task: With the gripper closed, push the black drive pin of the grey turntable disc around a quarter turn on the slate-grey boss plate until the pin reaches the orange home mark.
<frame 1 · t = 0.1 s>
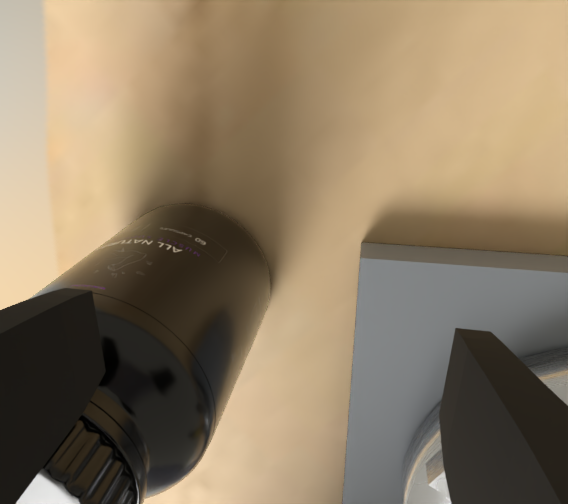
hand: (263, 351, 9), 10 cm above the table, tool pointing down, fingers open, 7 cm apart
supplement bottle: (197, 271, 21), on the table
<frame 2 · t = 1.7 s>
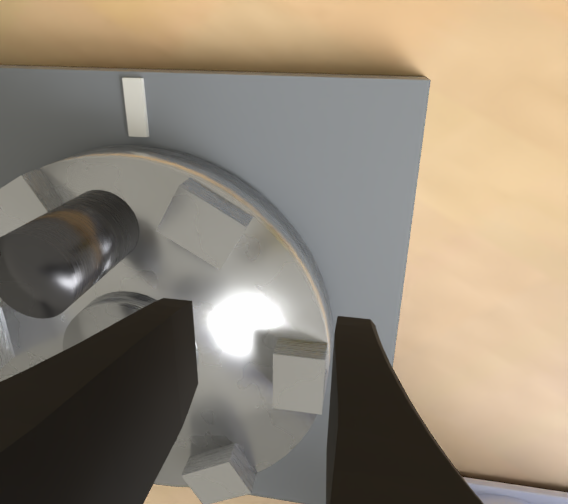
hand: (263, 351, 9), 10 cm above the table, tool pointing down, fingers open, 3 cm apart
boss plate: (172, 300, 22), on the table
grey turntable disc: (120, 369, 17), point 5 cm above the table, hinge at 0.0°
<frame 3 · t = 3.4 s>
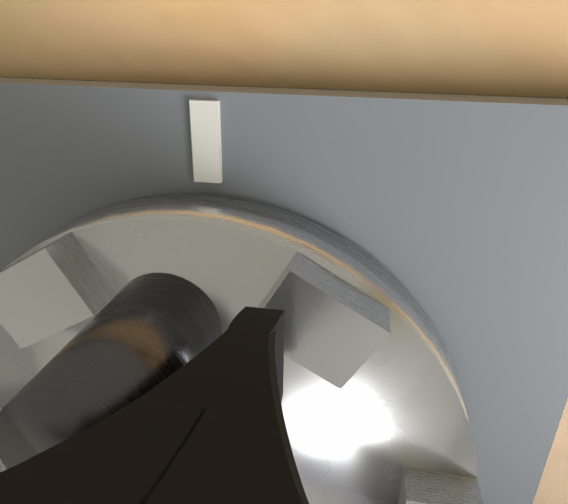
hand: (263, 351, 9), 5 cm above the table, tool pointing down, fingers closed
boss plate: (232, 383, 17), on the table
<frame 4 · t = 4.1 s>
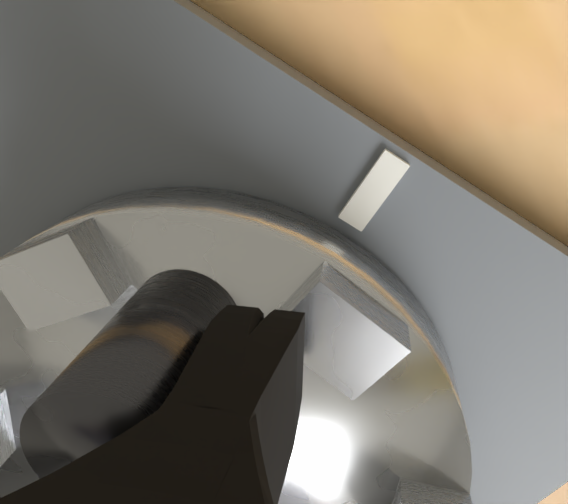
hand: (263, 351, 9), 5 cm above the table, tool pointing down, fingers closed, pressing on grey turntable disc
boss plate: (228, 378, 17), on the table
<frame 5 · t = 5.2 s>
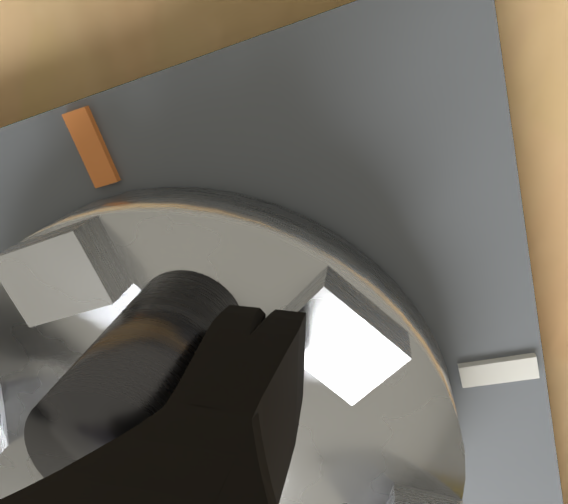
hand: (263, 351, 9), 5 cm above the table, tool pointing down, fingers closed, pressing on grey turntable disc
boss plate: (223, 379, 17), on the table
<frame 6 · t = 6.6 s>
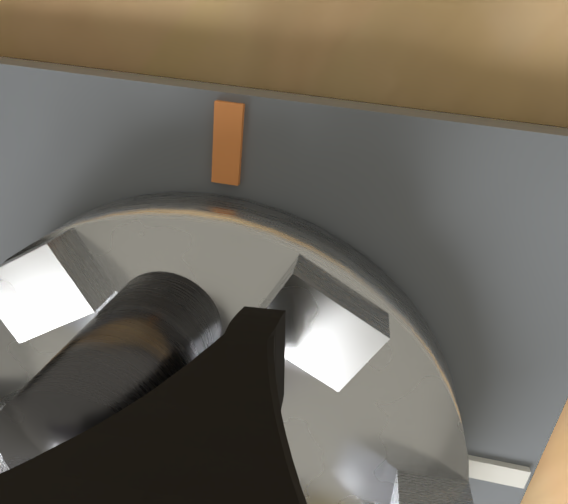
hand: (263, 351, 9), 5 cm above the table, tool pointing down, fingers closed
boss plate: (227, 382, 17), on the table
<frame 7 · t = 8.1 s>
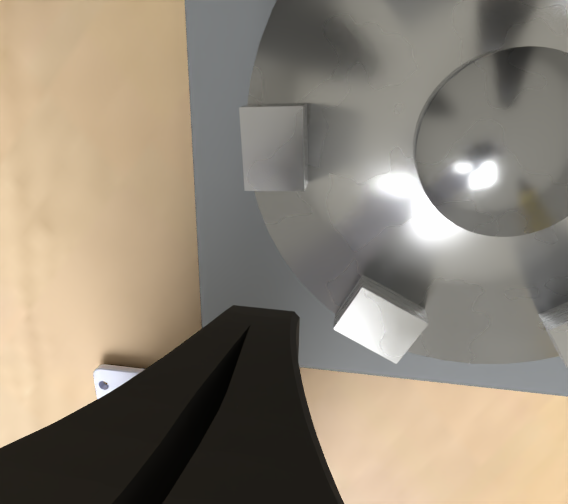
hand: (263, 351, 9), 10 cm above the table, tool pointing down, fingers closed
boss plate: (475, 125, 17), on the table
grey turntable disc: (517, 151, 12), point 5 cm above the table, hinge at 93.1°
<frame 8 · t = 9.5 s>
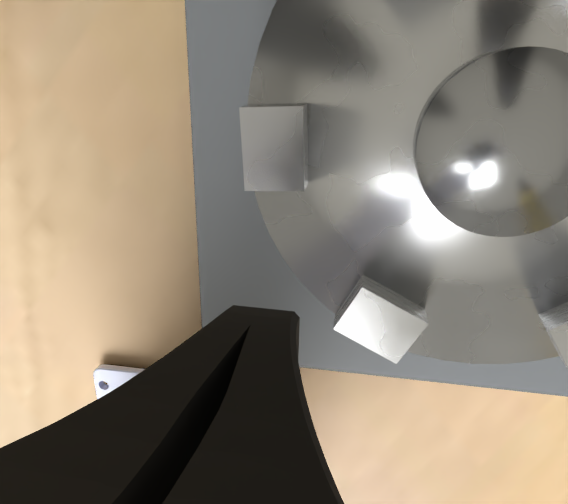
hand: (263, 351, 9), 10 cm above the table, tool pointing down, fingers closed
boss plate: (475, 125, 17), on the table
grey turntable disc: (517, 151, 12), point 5 cm above the table, hinge at 93.1°
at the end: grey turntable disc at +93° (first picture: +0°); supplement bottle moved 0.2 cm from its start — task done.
